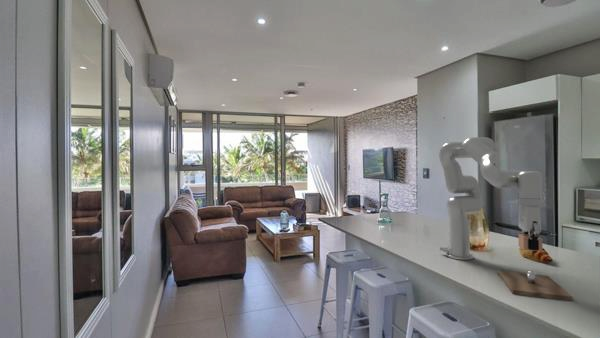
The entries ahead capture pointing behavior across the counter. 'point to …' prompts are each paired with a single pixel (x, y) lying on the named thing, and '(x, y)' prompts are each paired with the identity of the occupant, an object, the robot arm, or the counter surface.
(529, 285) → the walnut board
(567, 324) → the counter surface
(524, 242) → the collar block
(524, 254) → the croissant
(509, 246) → the counter surface
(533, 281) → the steel pin
